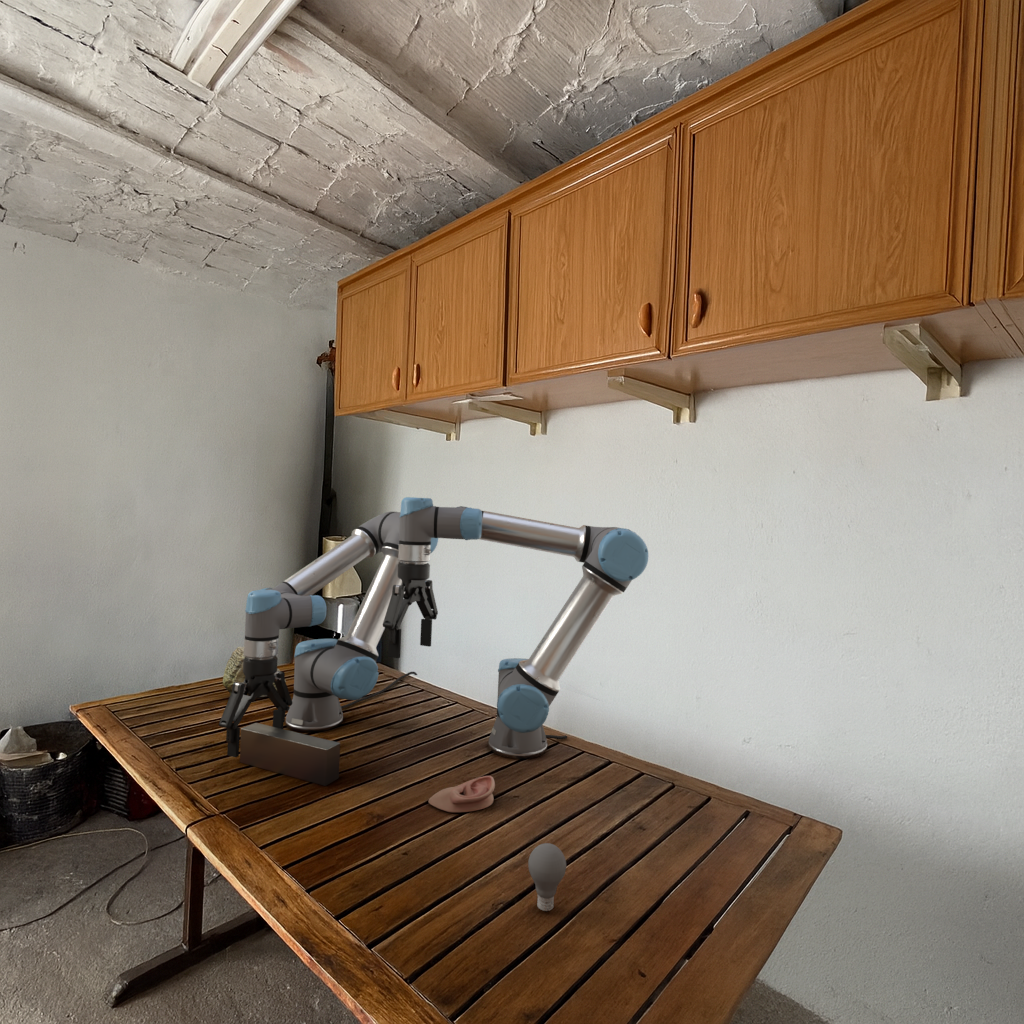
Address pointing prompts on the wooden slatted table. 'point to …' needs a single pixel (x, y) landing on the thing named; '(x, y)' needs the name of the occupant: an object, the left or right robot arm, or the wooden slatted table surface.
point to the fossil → (236, 670)
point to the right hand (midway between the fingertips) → (410, 651)
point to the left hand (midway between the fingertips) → (256, 746)
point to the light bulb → (546, 873)
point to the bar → (290, 753)
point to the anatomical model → (465, 796)
